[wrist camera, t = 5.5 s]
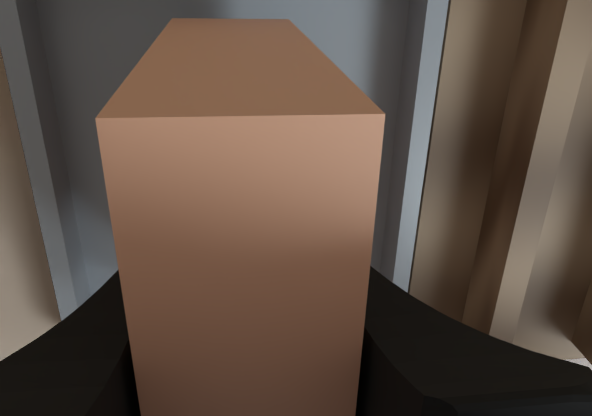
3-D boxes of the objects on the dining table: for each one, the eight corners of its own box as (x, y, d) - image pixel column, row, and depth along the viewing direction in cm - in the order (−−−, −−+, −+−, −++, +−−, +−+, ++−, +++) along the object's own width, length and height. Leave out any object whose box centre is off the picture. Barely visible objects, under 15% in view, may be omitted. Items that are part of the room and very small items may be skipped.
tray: (384, 320, 22) (398, 353, 20) (87, 340, 20) (74, 377, 18) (429, -53, 16) (456, -54, 14) (6, -64, 14) (-26, -67, 12)
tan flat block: (284, 323, 18) (334, 621, 10) (196, 328, 18) (175, 642, 10) (288, 19, 14) (385, 114, 6) (171, 18, 13) (95, 118, 5)
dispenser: (620, 338, 24) (685, 402, 21) (391, 356, 23) (420, 427, 19) (792, -116, 16) (944, -134, 13) (455, -131, 15) (525, -157, 11)
